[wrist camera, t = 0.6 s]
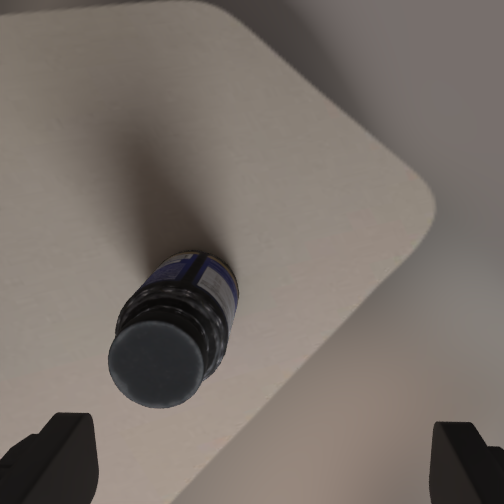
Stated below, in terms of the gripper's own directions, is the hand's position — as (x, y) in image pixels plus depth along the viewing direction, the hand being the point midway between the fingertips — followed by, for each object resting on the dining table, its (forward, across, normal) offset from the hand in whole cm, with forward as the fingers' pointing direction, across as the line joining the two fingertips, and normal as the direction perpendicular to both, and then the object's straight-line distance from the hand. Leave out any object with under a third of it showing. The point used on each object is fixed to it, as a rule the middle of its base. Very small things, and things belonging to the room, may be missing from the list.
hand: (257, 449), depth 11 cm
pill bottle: (+22, +6, +3) cm, 23 cm away
